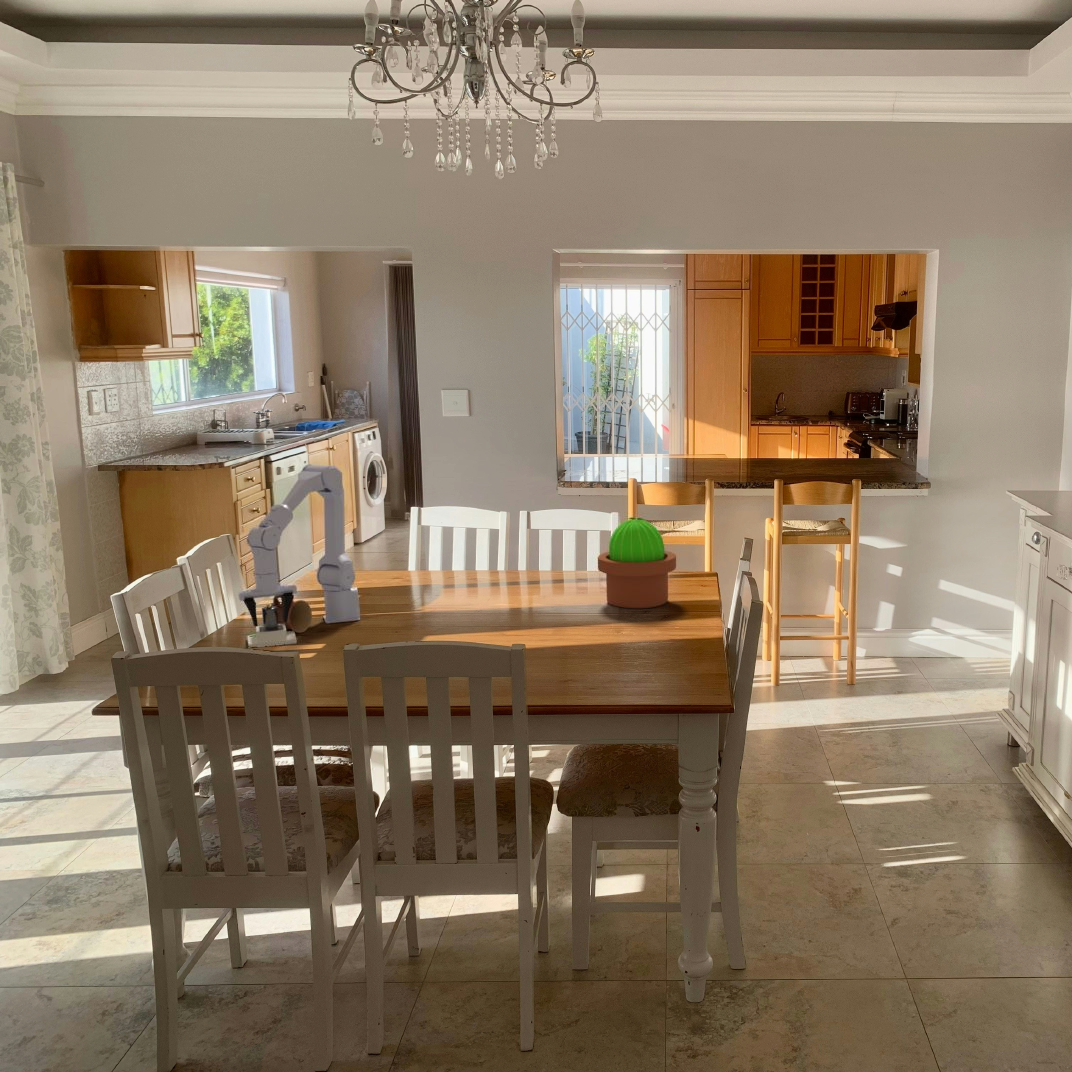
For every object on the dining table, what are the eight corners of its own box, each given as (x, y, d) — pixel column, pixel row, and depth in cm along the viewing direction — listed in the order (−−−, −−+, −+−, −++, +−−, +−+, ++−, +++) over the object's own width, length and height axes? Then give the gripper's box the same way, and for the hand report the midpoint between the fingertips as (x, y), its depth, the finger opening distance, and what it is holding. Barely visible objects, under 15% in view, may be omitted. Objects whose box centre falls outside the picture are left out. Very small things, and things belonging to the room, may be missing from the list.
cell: (281, 635, 263) (278, 603, 261) (276, 639, 259) (274, 606, 258) (267, 635, 263) (264, 603, 262) (262, 639, 259) (259, 606, 258)
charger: (294, 634, 267) (293, 621, 267) (296, 643, 259) (295, 630, 258) (247, 639, 264) (246, 626, 263) (248, 648, 255) (247, 635, 255)
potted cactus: (650, 615, 275) (649, 525, 271) (584, 605, 288) (582, 519, 284) (689, 598, 292) (688, 513, 288) (625, 589, 305) (624, 508, 301)
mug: (288, 617, 279) (316, 618, 274) (269, 637, 273) (298, 639, 268) (270, 583, 273) (298, 584, 268) (251, 603, 267) (279, 604, 262)
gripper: (290, 566, 265) (294, 616, 267) (234, 573, 258) (239, 624, 261) (297, 571, 259) (301, 621, 261) (239, 578, 252) (244, 630, 255)
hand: (270, 623), depth 261 cm, fingers open, 7 cm apart
